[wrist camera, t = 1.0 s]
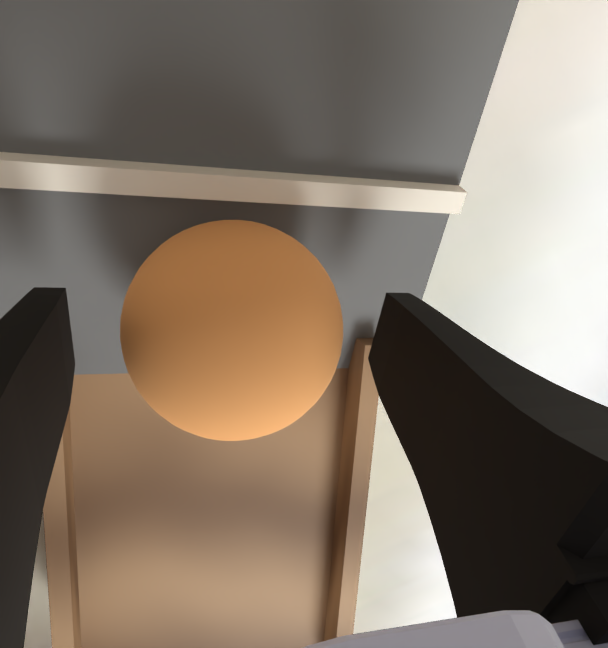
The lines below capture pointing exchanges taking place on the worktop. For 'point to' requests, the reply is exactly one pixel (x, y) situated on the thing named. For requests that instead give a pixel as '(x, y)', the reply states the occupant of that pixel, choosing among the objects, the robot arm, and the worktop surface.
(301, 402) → the ball
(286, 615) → the ramp
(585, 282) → the worktop surface
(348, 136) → the mat
